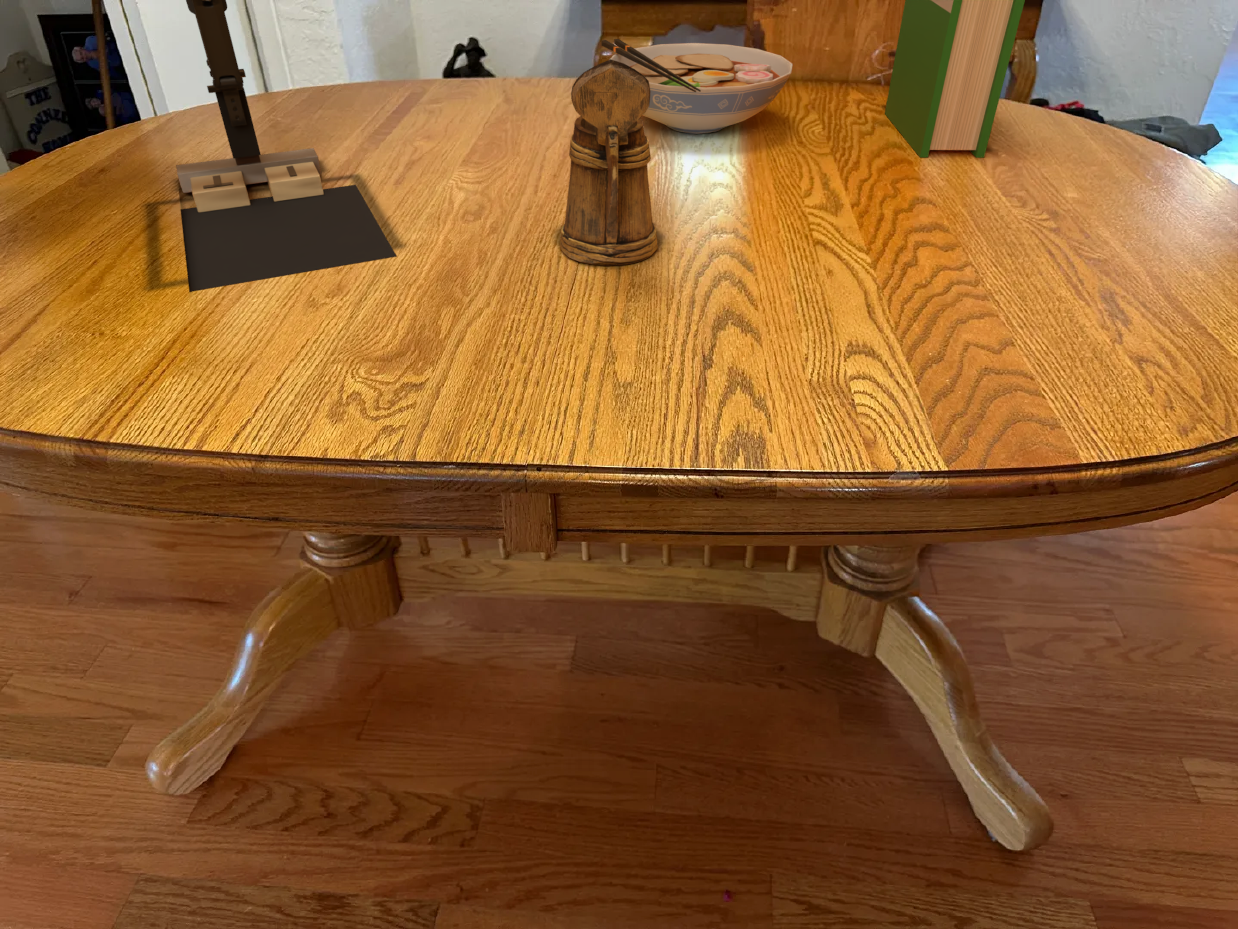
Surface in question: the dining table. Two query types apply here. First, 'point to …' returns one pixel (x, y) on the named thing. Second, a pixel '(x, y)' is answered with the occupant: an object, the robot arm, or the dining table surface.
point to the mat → (280, 238)
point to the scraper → (245, 166)
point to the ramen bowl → (704, 82)
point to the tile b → (294, 181)
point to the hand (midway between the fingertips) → (245, 150)
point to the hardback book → (951, 72)
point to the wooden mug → (609, 169)
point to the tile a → (219, 191)
